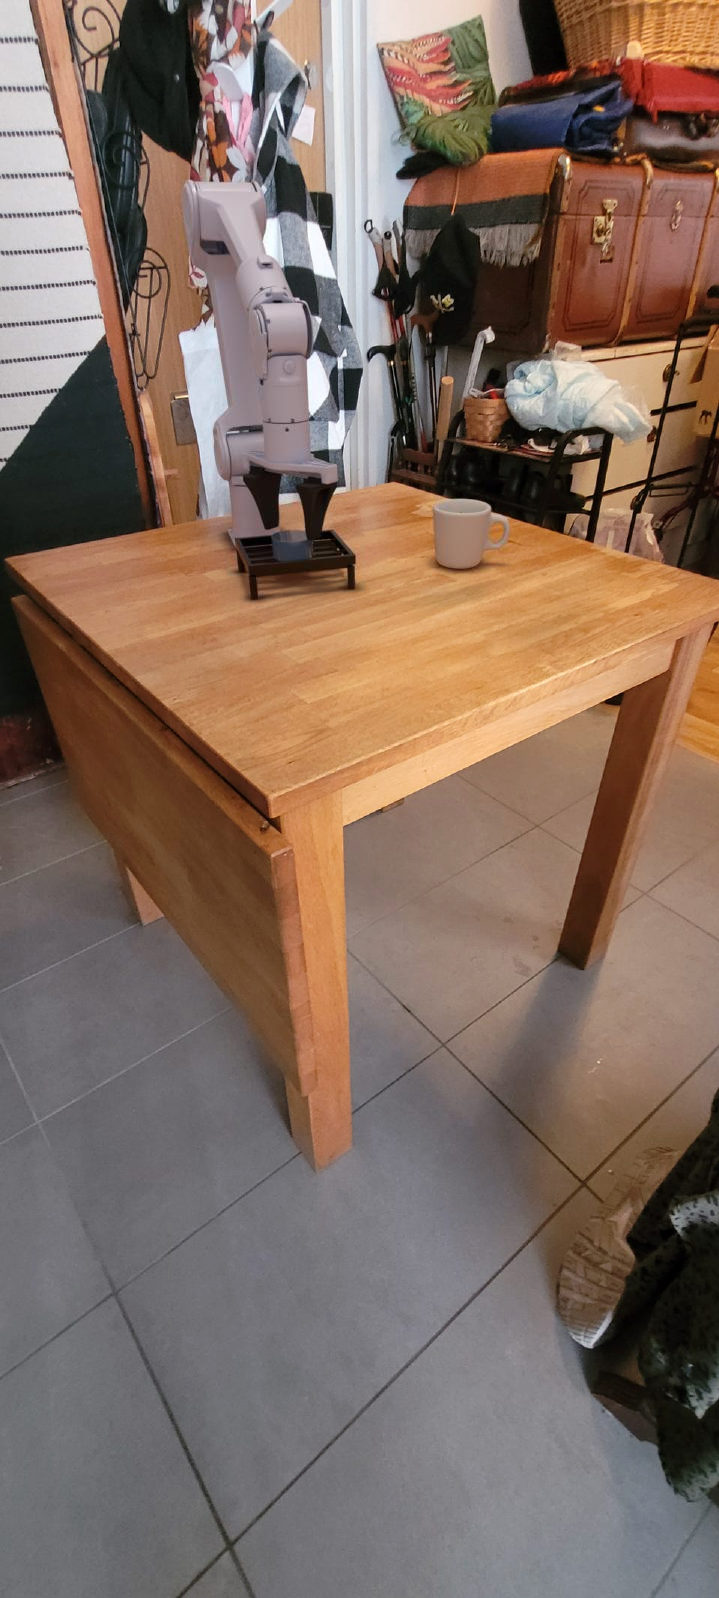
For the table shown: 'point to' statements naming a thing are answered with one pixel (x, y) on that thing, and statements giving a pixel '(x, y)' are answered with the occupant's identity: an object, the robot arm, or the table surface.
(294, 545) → the glossy blue puck
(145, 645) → the table surface
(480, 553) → the cup
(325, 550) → the rack
